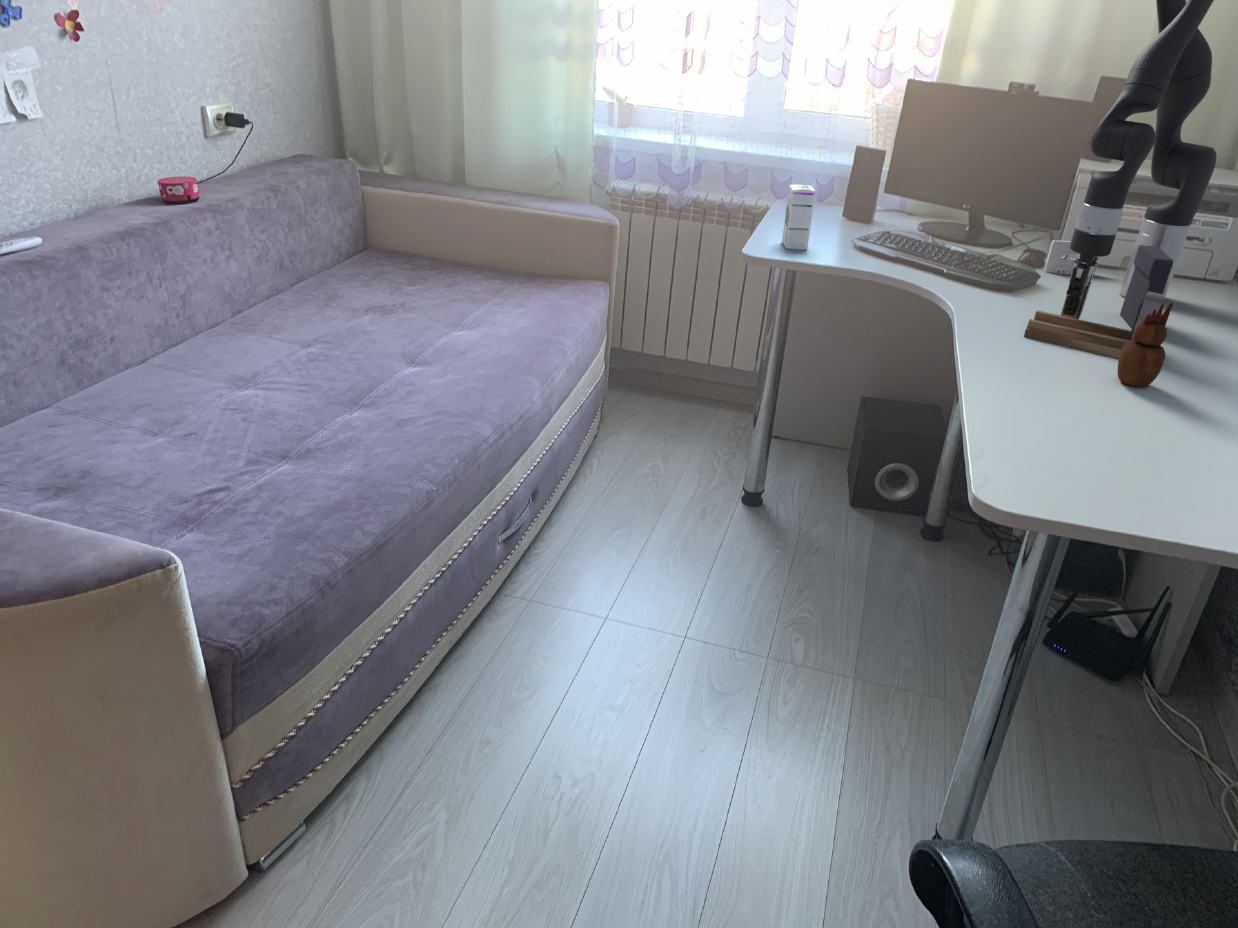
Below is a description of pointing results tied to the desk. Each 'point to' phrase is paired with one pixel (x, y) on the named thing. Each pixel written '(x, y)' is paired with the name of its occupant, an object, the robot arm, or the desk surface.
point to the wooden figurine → (1144, 350)
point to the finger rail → (1089, 329)
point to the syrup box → (798, 217)
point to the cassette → (1060, 258)
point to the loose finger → (1081, 301)
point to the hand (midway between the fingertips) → (1071, 310)
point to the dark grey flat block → (1146, 279)
